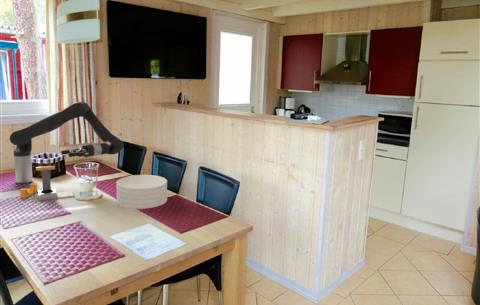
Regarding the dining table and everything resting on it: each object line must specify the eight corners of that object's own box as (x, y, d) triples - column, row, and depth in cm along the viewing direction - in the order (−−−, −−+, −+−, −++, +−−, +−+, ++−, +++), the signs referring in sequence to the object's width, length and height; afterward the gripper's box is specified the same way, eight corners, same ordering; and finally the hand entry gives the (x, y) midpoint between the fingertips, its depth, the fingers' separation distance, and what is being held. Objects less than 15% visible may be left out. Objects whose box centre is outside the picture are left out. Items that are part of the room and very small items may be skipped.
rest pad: (56, 194, 208) (56, 193, 208) (71, 192, 212) (71, 191, 212) (58, 198, 201) (58, 197, 201) (73, 196, 206) (73, 195, 206)
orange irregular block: (30, 193, 212) (29, 183, 210) (37, 194, 212) (36, 183, 210) (17, 200, 200) (16, 189, 199) (25, 200, 200) (24, 189, 199)
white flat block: (38, 196, 204) (37, 190, 203) (55, 194, 208) (54, 188, 207) (39, 200, 196) (38, 194, 196) (56, 198, 201) (56, 192, 200)
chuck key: (38, 197, 202) (35, 166, 198) (56, 195, 206) (54, 165, 203) (38, 199, 198) (36, 168, 195) (56, 197, 203) (55, 166, 199)
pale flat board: (31, 198, 203) (31, 196, 203) (72, 194, 214) (72, 191, 214) (32, 205, 194) (32, 202, 194) (75, 199, 205) (75, 197, 205)
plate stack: (172, 194, 222) (173, 176, 220) (158, 210, 195) (158, 190, 192) (128, 191, 224) (128, 173, 222) (108, 206, 197) (107, 186, 195)
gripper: (85, 142, 222) (58, 145, 210) (98, 145, 213) (70, 149, 201) (85, 154, 224) (59, 158, 211) (98, 158, 215) (71, 162, 202)
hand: (65, 153), depth 206 cm, fingers open, 8 cm apart
